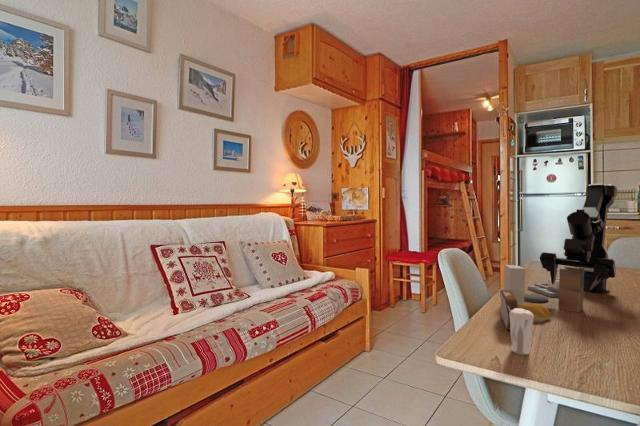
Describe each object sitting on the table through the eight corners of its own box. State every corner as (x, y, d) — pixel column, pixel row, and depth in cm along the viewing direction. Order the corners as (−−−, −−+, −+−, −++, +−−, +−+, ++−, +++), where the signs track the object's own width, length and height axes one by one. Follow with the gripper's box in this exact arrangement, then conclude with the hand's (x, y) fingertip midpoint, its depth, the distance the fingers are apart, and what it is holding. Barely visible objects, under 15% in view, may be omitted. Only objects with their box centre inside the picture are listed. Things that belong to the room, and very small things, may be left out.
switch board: (557, 288, 135) (557, 282, 135) (582, 296, 124) (582, 290, 124) (527, 289, 133) (527, 283, 133) (550, 297, 123) (550, 291, 123)
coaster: (534, 295, 125) (534, 293, 125) (555, 302, 116) (555, 300, 116) (510, 295, 124) (510, 294, 124) (529, 303, 115) (529, 301, 115)
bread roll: (555, 319, 101) (555, 304, 100) (539, 325, 96) (539, 309, 95) (524, 311, 107) (524, 297, 107) (507, 316, 102) (508, 302, 102)
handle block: (562, 305, 113) (564, 266, 113) (582, 308, 110) (584, 269, 109) (558, 308, 110) (559, 268, 109) (578, 312, 106) (580, 271, 106)
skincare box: (524, 308, 109) (525, 268, 109) (509, 307, 110) (510, 268, 110) (517, 303, 115) (519, 265, 115) (503, 302, 116) (504, 264, 115)
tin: (520, 336, 87) (521, 301, 87) (505, 334, 88) (506, 299, 88) (510, 317, 101) (511, 286, 101) (498, 315, 102) (499, 285, 102)
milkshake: (500, 348, 80) (501, 302, 79) (523, 347, 80) (525, 302, 80) (512, 357, 75) (514, 309, 75) (537, 356, 76) (539, 308, 75)
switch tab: (557, 288, 130) (558, 276, 130) (567, 290, 126) (567, 279, 126) (547, 288, 129) (548, 277, 129) (556, 291, 125) (556, 279, 125)
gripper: (542, 227, 118) (529, 265, 111) (615, 231, 105) (606, 274, 98) (549, 249, 124) (537, 286, 117) (619, 256, 110) (611, 298, 103)
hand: (570, 286), depth 109 cm, fingers open, 9 cm apart
